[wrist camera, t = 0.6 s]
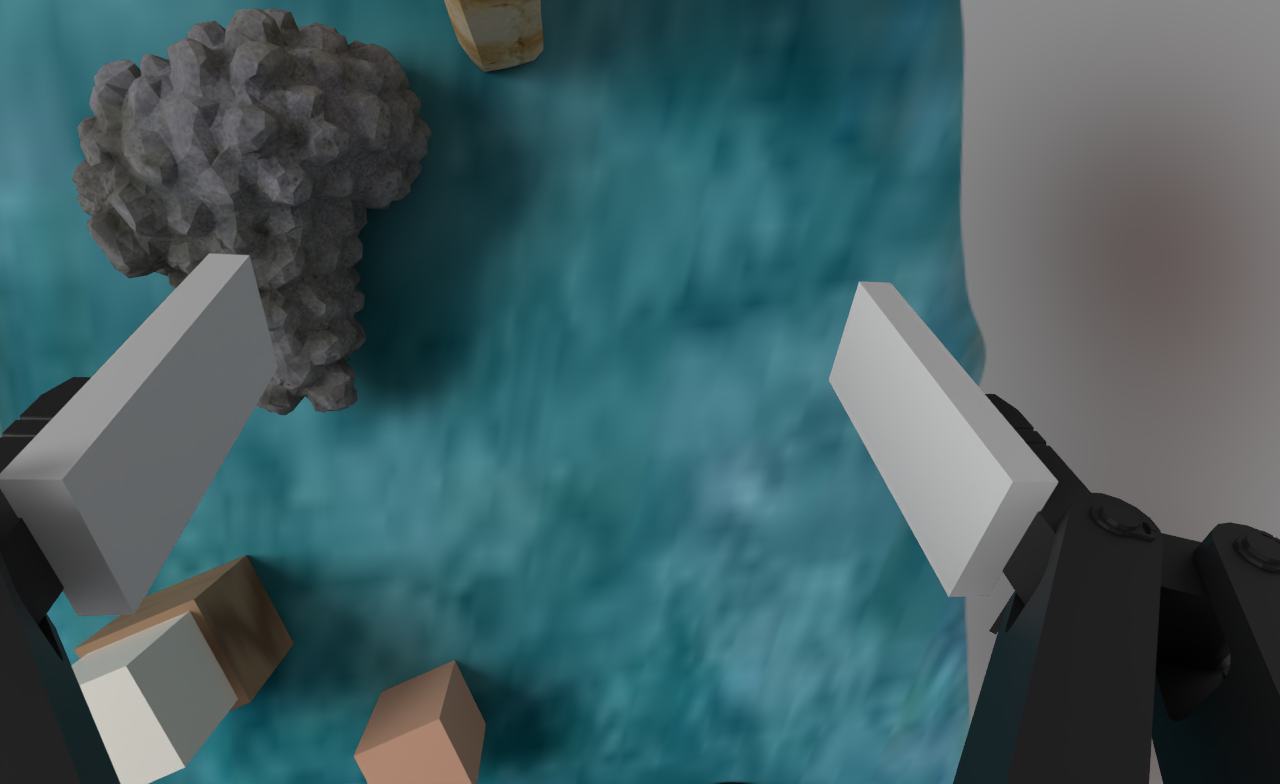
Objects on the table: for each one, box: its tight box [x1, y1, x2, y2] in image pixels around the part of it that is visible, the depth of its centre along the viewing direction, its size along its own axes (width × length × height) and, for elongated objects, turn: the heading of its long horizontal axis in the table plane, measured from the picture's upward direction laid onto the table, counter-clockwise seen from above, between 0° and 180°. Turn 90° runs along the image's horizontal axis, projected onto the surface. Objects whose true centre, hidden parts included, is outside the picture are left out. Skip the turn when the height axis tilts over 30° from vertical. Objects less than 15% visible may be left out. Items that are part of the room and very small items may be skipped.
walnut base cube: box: [74, 555, 294, 711], centre depth 43 cm, size 7×7×7 cm
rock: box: [72, 8, 432, 415], centre depth 39 cm, size 22×16×15 cm
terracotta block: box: [354, 660, 486, 784], centre depth 46 cm, size 6×6×7 cm
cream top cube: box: [72, 611, 238, 784], centre depth 37 cm, size 6×6×6 cm
